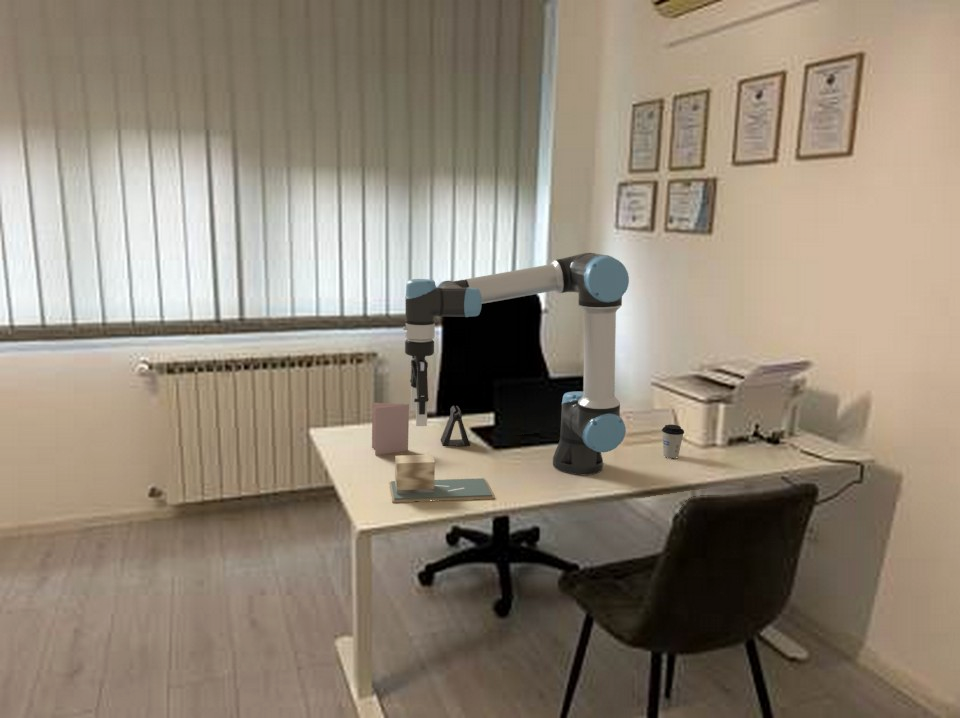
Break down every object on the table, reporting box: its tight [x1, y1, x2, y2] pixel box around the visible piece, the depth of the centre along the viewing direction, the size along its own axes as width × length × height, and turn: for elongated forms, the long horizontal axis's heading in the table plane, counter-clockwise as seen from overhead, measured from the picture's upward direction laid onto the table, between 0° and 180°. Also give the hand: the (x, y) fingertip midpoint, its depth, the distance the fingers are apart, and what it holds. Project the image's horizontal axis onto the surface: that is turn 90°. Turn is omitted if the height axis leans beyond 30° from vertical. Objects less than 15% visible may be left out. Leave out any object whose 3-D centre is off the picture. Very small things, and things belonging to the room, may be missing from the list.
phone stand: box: [440, 405, 471, 447], centre depth 239 cm, size 9×6×12 cm, turn 100°
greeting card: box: [371, 402, 410, 456], centre depth 228 cm, size 11×7×15 cm, turn 89°
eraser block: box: [394, 454, 436, 494], centre depth 197 cm, size 10×6×8 cm, turn 101°
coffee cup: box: [661, 424, 685, 459], centre depth 234 cm, size 7×7×10 cm
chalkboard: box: [388, 477, 495, 504], centre depth 200 cm, size 27×13×1 cm, turn 101°
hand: (418, 418), depth 195 cm, fingers open, 13 cm apart
